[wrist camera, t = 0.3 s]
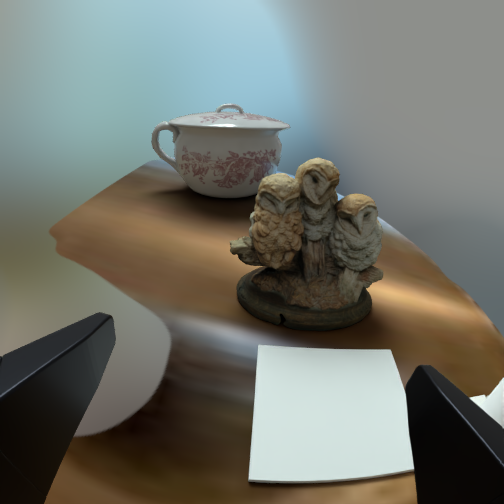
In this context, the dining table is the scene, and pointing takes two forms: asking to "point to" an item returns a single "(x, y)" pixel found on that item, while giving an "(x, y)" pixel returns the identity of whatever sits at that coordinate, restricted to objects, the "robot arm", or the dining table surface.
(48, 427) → the robot arm
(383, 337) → the dining table surface
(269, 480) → the mat
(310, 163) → the owl figurine
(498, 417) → the can
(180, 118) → the chamber pot
